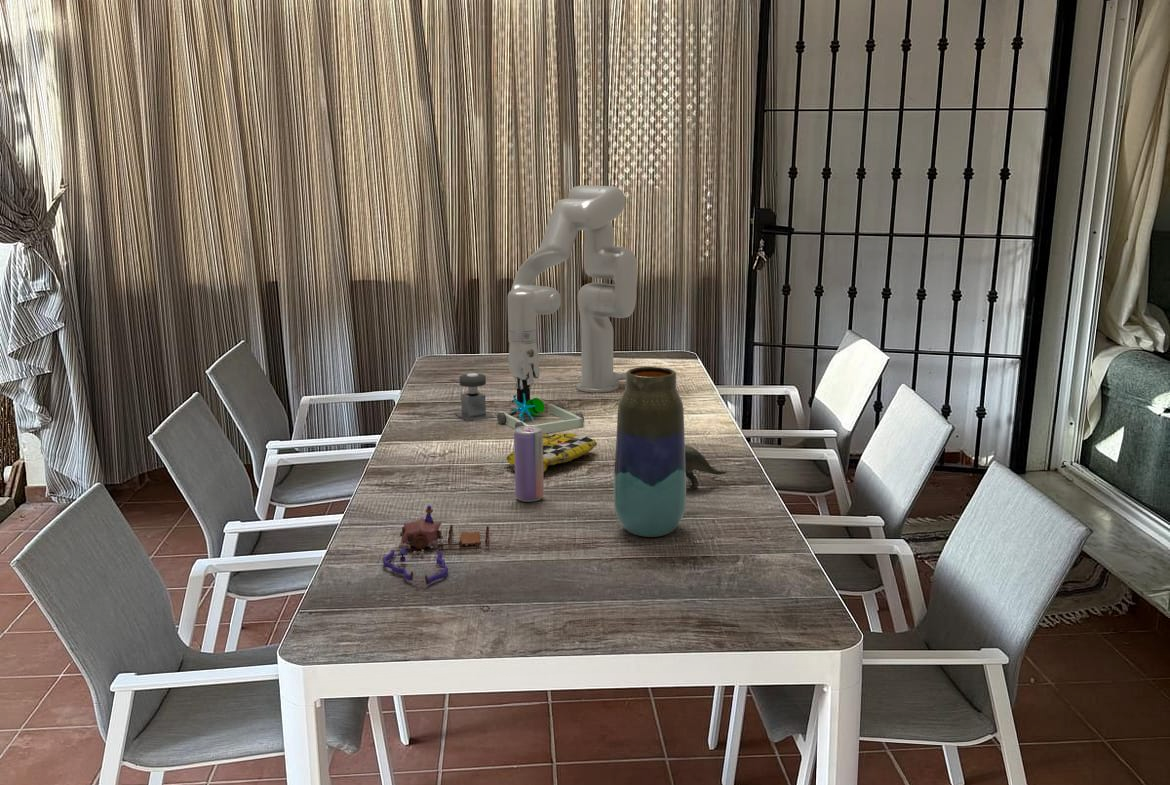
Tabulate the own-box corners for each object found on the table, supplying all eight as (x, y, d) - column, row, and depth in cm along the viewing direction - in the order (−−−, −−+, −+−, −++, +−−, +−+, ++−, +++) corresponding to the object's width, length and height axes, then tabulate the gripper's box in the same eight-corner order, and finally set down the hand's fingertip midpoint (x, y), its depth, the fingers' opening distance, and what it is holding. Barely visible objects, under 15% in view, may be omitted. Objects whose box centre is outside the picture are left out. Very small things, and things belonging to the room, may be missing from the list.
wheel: (479, 388, 286) (479, 370, 285) (490, 393, 280) (489, 375, 279) (456, 391, 282) (455, 373, 281) (466, 397, 276) (465, 378, 275)
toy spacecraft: (491, 468, 239) (490, 447, 238) (551, 444, 257) (551, 425, 256) (548, 481, 230) (548, 459, 228) (607, 456, 248) (607, 436, 246)
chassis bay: (555, 411, 286) (555, 401, 286) (587, 427, 271) (587, 416, 270) (494, 420, 278) (493, 410, 277) (523, 437, 262) (523, 425, 262)
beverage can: (522, 504, 214) (520, 434, 211) (510, 495, 219) (509, 427, 216) (548, 499, 217) (547, 430, 213) (536, 491, 222) (535, 423, 219)
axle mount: (481, 410, 288) (480, 389, 287) (493, 417, 281) (492, 395, 280) (454, 414, 284) (453, 393, 283) (465, 421, 277) (465, 399, 276)
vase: (664, 548, 191) (666, 383, 183) (600, 534, 198) (599, 374, 191) (697, 525, 202) (701, 368, 195) (635, 512, 209) (636, 360, 202)
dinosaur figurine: (727, 487, 224) (729, 437, 221) (719, 500, 216) (721, 448, 213) (630, 477, 231) (630, 429, 228) (619, 489, 223) (619, 439, 220)
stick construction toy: (521, 421, 271) (511, 393, 273) (504, 430, 276) (494, 403, 277) (551, 416, 280) (542, 389, 282) (534, 425, 285) (525, 399, 286)
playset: (488, 584, 177) (487, 546, 176) (376, 588, 176) (374, 550, 174) (489, 530, 201) (488, 496, 200) (390, 533, 200) (389, 499, 198)
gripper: (547, 339, 273) (548, 406, 277) (523, 330, 285) (524, 395, 290) (521, 341, 269) (523, 410, 273) (498, 332, 282) (499, 398, 286)
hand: (523, 402), depth 281 cm, fingers closed
